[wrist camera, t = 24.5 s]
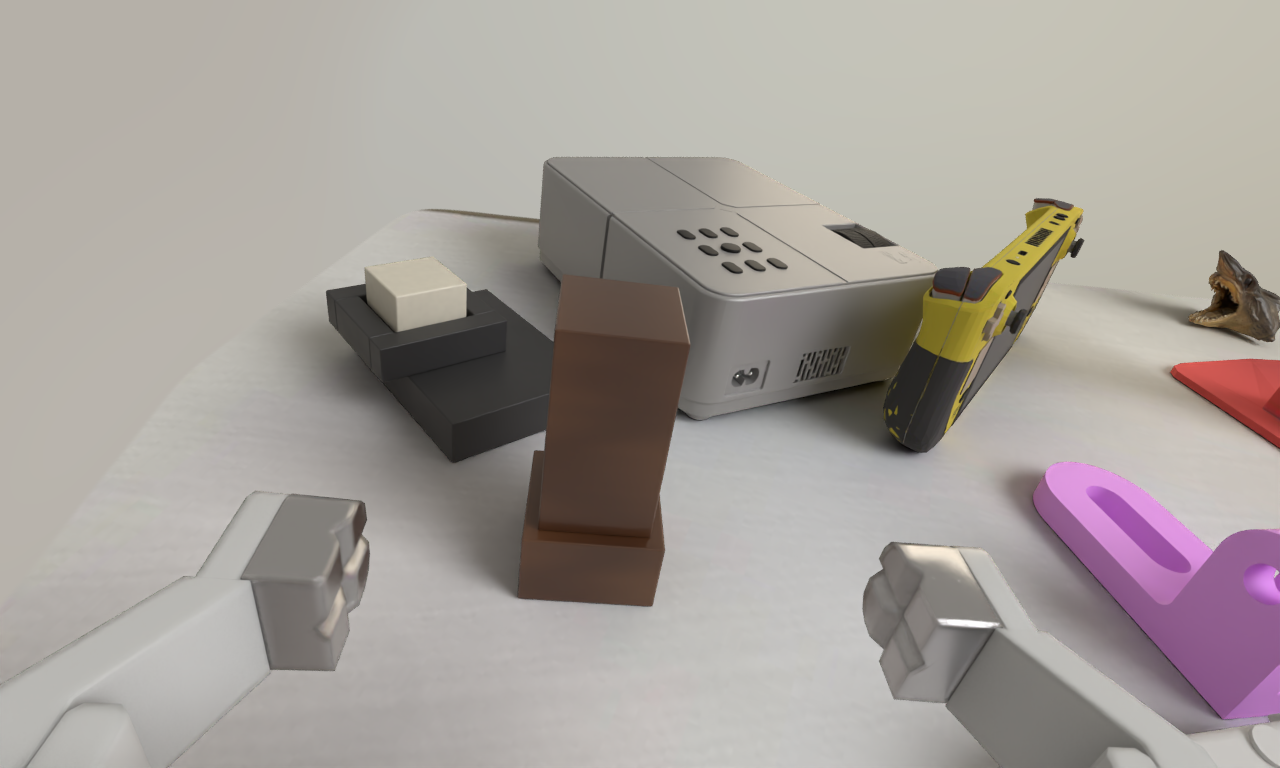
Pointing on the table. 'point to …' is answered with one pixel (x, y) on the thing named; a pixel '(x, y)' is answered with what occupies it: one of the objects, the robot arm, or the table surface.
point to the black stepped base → (456, 369)
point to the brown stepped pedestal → (605, 444)
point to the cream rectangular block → (415, 293)
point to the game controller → (1244, 745)
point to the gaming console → (975, 325)
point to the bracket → (1178, 584)
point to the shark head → (1240, 302)
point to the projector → (739, 273)
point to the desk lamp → (1239, 390)
